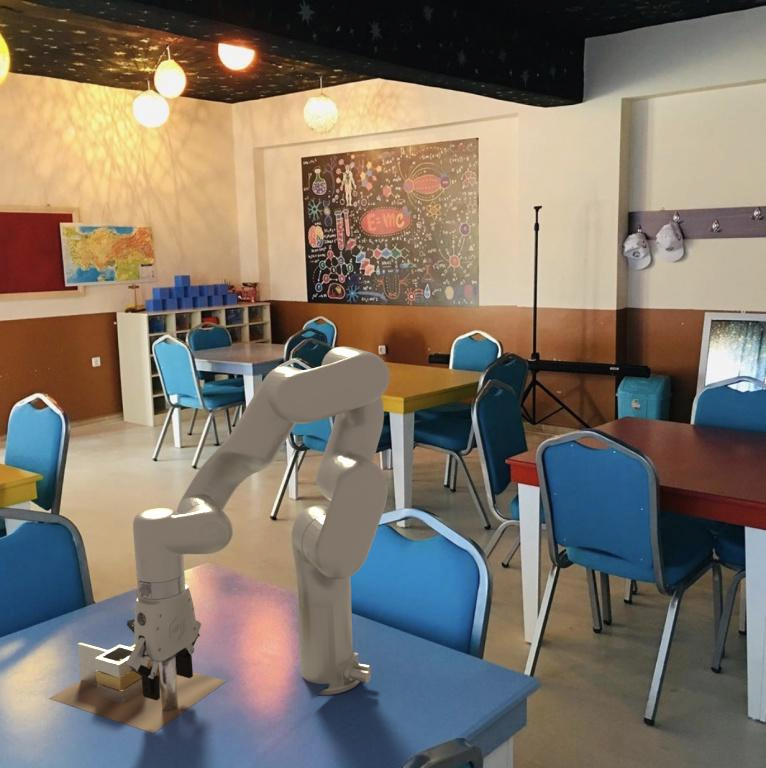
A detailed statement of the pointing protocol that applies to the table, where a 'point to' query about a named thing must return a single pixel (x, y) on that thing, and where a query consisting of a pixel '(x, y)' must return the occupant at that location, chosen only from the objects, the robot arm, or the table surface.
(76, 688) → the walnut board
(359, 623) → the table surface
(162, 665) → the hinge pin
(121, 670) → the hinge
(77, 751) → the table surface
